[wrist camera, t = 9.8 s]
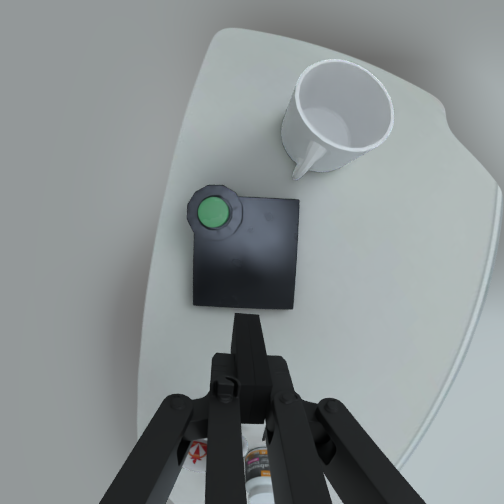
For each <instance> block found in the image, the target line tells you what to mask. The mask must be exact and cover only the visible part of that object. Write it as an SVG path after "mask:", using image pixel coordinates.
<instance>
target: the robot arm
mask: <svg viewBox="0 0 504 504" xmlns="http://www.w3.org/2000/svg"><path fill="white" fill-rule="evenodd" d="M264 420H265V421H266V427H265V430H264V434H263V438H262V441H264V440H265V439H266V447H267V454H268V461H269V468H270V475H271V482H272V489H273V496H274V502H275V504H332V501H331V498H330V494H329V491H328V487H327V484H326V481H325V477H324V474H325V476H326V477H327V479H328V480H329V482H330V484H331V485H332V487H333V488H334V490H335V491H336V493H337V494H338V496H339V497H340V499H341V500H342V502H343V503H344V504H426V503H425V502H424V500H423V499H422V498H421V497H420V496H419V495H418V494H417V492H416V491H415V490H414V489H413V488H412V487H411V485H410V484H409V483H408V482H407V481H406V480H405V478H404V477H403V476H402V475H401V474H400V472H399V471H398V470H397V469H396V468H395V467H394V465H393V464H392V463H391V462H390V461H389V459H388V458H387V457H386V456H385V455H384V453H383V452H382V451H381V450H380V449H379V447H378V446H377V445H376V444H375V442H374V441H373V440H372V439H371V438H370V436H369V435H368V434H367V433H366V432H365V430H364V429H363V428H362V427H361V425H360V424H359V423H358V422H357V420H356V419H355V418H354V417H353V416H352V414H351V413H350V412H349V411H348V409H347V408H346V407H345V406H344V404H343V403H342V402H340V401H339V400H337V399H334V398H325V399H322V400H321V401H320V402H319V403H318V404H317V403H311V402H307V401H304V400H302V399H301V397H300V395H299V394H297V393H296V392H295V391H294V387H293V384H292V380H291V377H290V374H289V370H288V366H287V363H286V361H285V360H284V359H283V358H282V356H270V355H267V354H266V349H265V344H264V338H263V333H262V328H261V323H260V318H259V315H256V314H242V313H235V316H234V325H233V334H232V343H231V354H226V353H216V354H215V355H214V356H213V358H212V367H211V381H210V391H209V393H208V394H207V395H206V396H205V397H203V398H200V399H195V400H191V399H190V398H189V397H188V396H185V395H183V394H172V395H169V396H167V397H166V398H165V399H164V400H163V402H162V403H161V405H160V407H159V408H158V410H157V412H156V413H155V415H154V416H153V418H152V420H151V421H150V423H149V424H148V426H147V428H146V429H145V431H144V432H143V434H142V436H141V437H140V439H139V440H138V442H137V444H136V445H135V447H134V448H133V450H132V452H131V453H130V455H129V456H128V458H127V460H126V461H125V463H124V465H123V466H122V468H121V469H120V471H119V472H118V474H117V476H116V477H115V479H114V480H113V482H112V484H111V485H110V487H109V488H108V490H107V492H106V493H105V495H104V497H103V498H102V500H101V501H100V503H99V504H166V502H167V500H168V497H169V495H170V493H171V491H172V489H173V486H174V484H175V482H176V480H177V477H178V475H179V473H180V471H181V469H182V466H183V464H184V462H185V460H186V457H187V455H188V453H189V450H190V448H191V446H192V444H193V440H199V439H205V438H207V456H206V486H205V504H247V499H246V487H245V475H244V462H243V448H242V433H241V423H242V424H264ZM323 473H324V474H323Z"/></svg>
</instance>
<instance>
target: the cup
mask: <svg viewBox="0 0 504 504" xmlns="http://www.w3.org/2000/svg"><path fill="white" fill-rule="evenodd" d="M242 448H243V457H244V456H245V455H246V454H247V451H248V442H247V440H246V439H245V438H244V437H243V436H242ZM206 456H207V438H205V439H199V440H193V444H192V446H191V448H190V450H189V453H188V455H187V457H186V460H185V462H184V464H183V466H182V468H184V469H187V470H190V471H194V472H206Z"/></svg>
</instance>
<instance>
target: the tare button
mask: <svg viewBox="0 0 504 504" xmlns="http://www.w3.org/2000/svg"><path fill="white" fill-rule="evenodd" d="M198 216H199V219H200V221H201V222H202V223H203V224H204V225H205V226H208V227H212V228H214V227H219V226H222V225H223V224H225V223H226V221H227V220H228V218H229V208H228V205H227V204H226V203H225V202H224V201H223V200H222V199H220V198H218V197H209V198H207V199H205V200H204V201H202V203H201V204H200V206H199V208H198Z"/></svg>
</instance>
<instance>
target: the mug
mask: <svg viewBox="0 0 504 504" xmlns="http://www.w3.org/2000/svg"><path fill="white" fill-rule="evenodd" d="M393 124H394V109H393V105H392V101H391V98H390V96H389V94H388V92H387V90H386V88H385V87H384V86H383V84H382V83H381V82H380V81H379V80H378V78H377V77H375V76H374V75H373V74H372V73H371V72H369V71H368V70H367V69H365V68H363V67H361V66H359V65H357V64H356V63H352V62H349V61H345V60H338V59H328V60H323V61H319V62H317V63H315V64H312V65H310V66H309V67H308V68H307V69H306V70H305V71H304V72H303V73H302V74H301V76H300V78H299V80H298V82H297V84H296V86H295V89H294V92H293V94H292V97H291V100H290V103H289V105H288V108H287V111H286V114H285V116H284V119H283V122H282V129H281V136H282V143H283V145H284V148H285V150H286V152H287V153H288V155H289V156H290V157H291V159H292V160H293V161H295V162H296V163H297V165H296V167H295V169H294V172H293V176H292V178H293V179H294V180H298V179H300V178H301V177H302V176H303V175H304V174H305V173H306V172H307V171H308V170H310V171H315V172H329V171H333V170H336V169H339V168H341V167H343V166H344V165H346V164H348V163H350V162H351V161H353V160H355V159H357V158H358V157H360V156H362V155H364V154H365V153H367V152H369V151H371V150H373V149H374V148H376V147H377V146H379V145H380V144H382V143H383V142H384V141H385V140H386V139H387V137H388V136H389V134H390V133H391V130H392V127H393Z"/></svg>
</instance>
